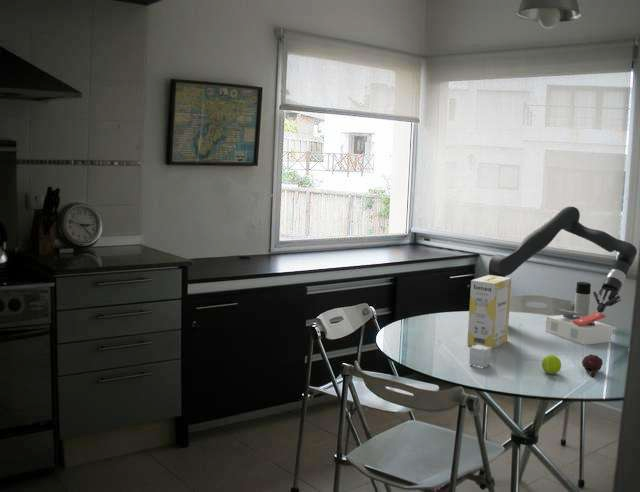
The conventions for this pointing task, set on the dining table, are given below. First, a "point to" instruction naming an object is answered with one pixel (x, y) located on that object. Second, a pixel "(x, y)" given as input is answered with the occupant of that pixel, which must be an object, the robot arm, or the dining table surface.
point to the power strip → (578, 330)
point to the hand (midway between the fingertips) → (599, 311)
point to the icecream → (592, 364)
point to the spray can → (582, 298)
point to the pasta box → (489, 311)
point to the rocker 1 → (569, 312)
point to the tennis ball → (551, 364)
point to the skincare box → (480, 355)
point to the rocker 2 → (589, 319)
